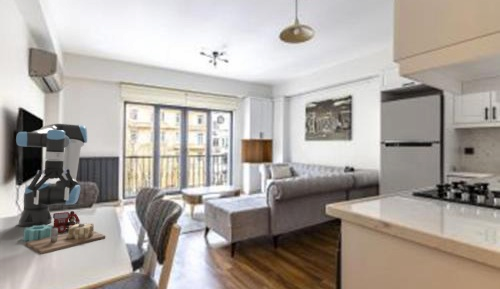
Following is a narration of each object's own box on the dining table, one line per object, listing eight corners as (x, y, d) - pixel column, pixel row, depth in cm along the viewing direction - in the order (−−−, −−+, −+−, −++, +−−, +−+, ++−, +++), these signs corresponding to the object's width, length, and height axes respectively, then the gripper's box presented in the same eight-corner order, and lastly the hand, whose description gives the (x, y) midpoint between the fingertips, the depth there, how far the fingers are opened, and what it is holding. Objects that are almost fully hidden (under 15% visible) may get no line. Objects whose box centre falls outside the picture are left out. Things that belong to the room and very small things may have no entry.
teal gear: (19, 238, 133) (20, 228, 133) (45, 233, 142) (46, 223, 142) (28, 243, 127) (29, 232, 127) (55, 237, 136) (56, 227, 136)
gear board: (25, 244, 125) (26, 229, 125) (88, 231, 149) (89, 218, 149) (41, 253, 116) (42, 237, 116) (105, 238, 140) (106, 224, 140)
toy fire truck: (80, 230, 150) (81, 211, 150) (53, 234, 141) (54, 214, 141) (77, 227, 155) (78, 209, 155) (51, 231, 146) (52, 211, 146)
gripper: (28, 161, 124) (25, 207, 124) (84, 160, 146) (81, 199, 146) (21, 159, 128) (18, 204, 128) (76, 159, 150) (73, 197, 149)
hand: (51, 202), depth 137 cm, fingers open, 13 cm apart
